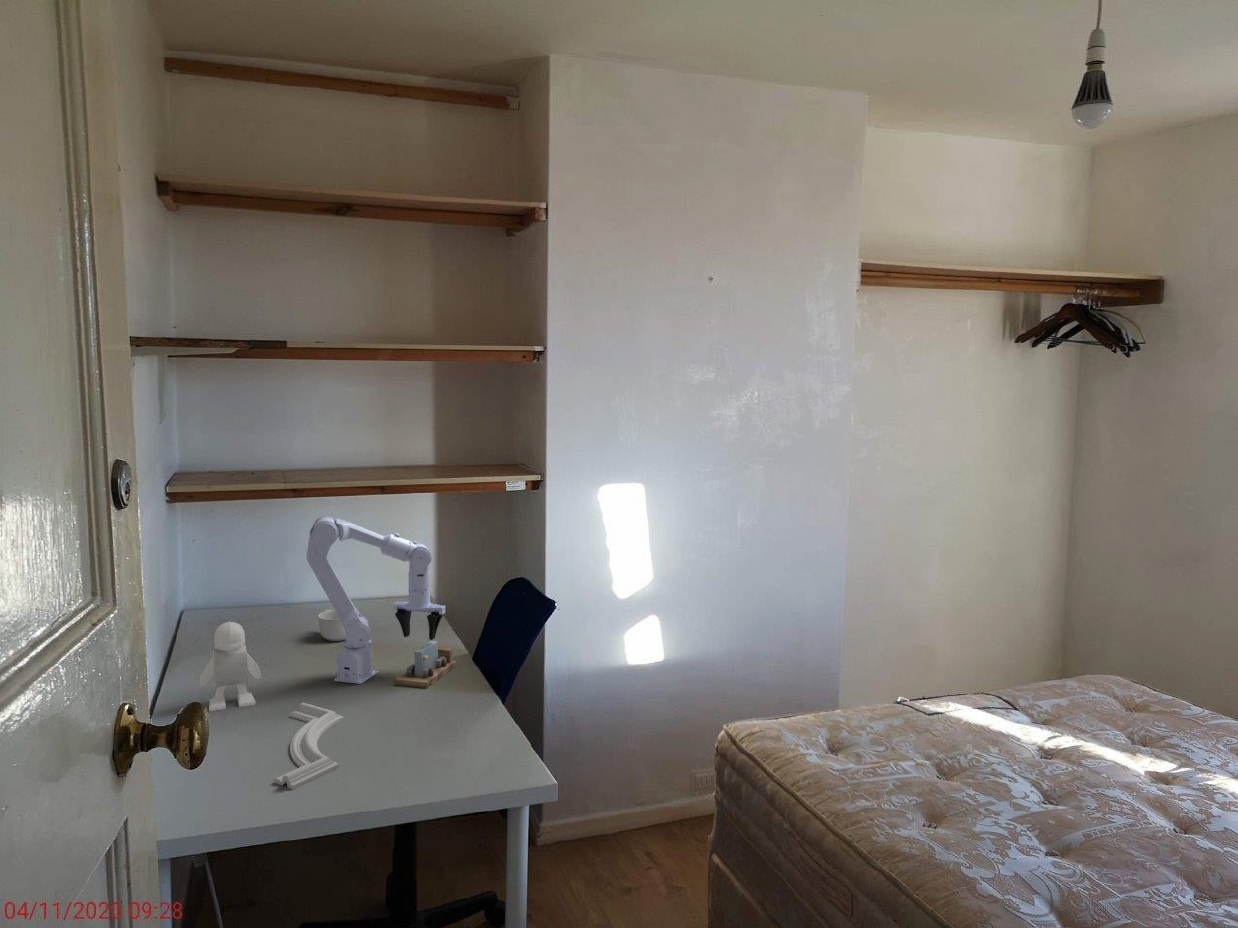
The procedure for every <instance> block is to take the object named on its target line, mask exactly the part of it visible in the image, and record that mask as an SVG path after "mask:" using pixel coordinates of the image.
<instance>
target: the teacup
mask: <svg viewBox="0 0 1238 928" xmlns="http://www.w3.org/2000/svg"><path fill="white" fill-rule="evenodd" d="M317 618H318V626H319V628H318V629H319V632H320V633H319V634H320V636H321V637H323V638H324V639H326V640H327V641H329V642H340V641H341V642H343V641H345V640H346V632H345V629H344V627H343V625H342V623H341V620H340V618H339V616H338V614H337V612H336V611H335V609H334V608H333V609H329V608H328V609H327V608H326V609H324V610H323V611H322V612H320V613H319V614H318V615H317Z"/></svg>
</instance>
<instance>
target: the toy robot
mask: <svg viewBox="0 0 1238 928" xmlns="http://www.w3.org/2000/svg"><path fill="white" fill-rule="evenodd" d="M213 638H214V639H213V640H214V643H213V645H214V648H212V657H211V658H210V660H209V661H208V662H207V664H206V665H205V667H204V668H203V670H202V672H201V674H200V677H199V679H198V680H199V686H200V688H203V687H205V686H206V685H207V684H208V683H209V682H210V680H211V679H212V677H213V686H214V688H215V693H214V695H213V697H212V698H209V705H208V707H209V708H208V709H209V712H214V711H221V710H226V709H227V707H226V697H225V690H226V689H227V687H228V686H233V685H235V687H236V688H237V691H238V692H237V694H236V700H237V703H238V707H239V708H241V707H250V706H255V705H256V699H255V698H254V696H253V694H252V692H248V690H247V686H246V684H248V678H249V677H248V674H251V676H252V677H253V678H254V679H256V680H261V679H262V671H261V669H260V667H259V665H258V664H257V662H256V661H255V660H254V659H253V658H252V657H251V655H249V653H248V651H247V646H246V635H245V630H244V628H243V626H242V625H241V623H237V622H235V621H227V622H223V623H222V624H219V626H217V628H216V630H215V632H214V637H213ZM248 672H249V673H248Z"/></svg>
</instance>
